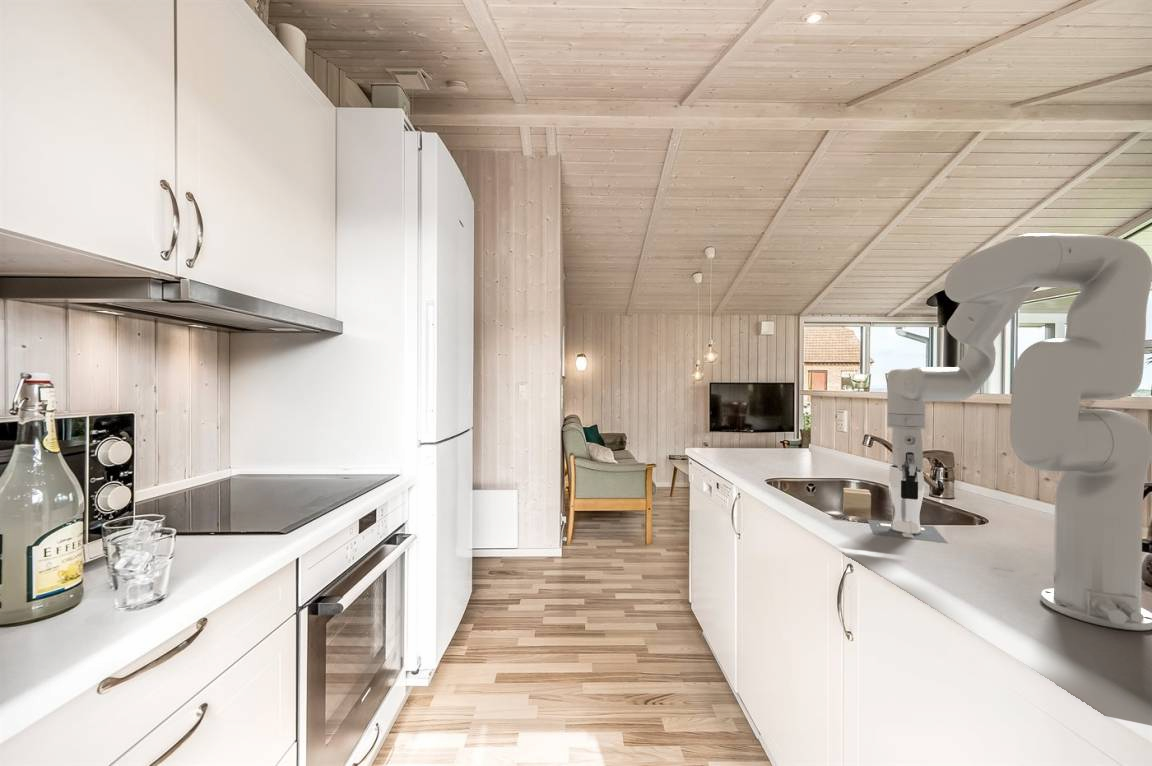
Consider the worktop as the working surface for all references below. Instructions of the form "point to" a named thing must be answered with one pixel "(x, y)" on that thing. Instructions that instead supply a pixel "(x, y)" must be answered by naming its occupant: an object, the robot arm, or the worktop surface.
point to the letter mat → (926, 534)
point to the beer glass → (905, 504)
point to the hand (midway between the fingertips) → (905, 494)
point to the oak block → (857, 502)
